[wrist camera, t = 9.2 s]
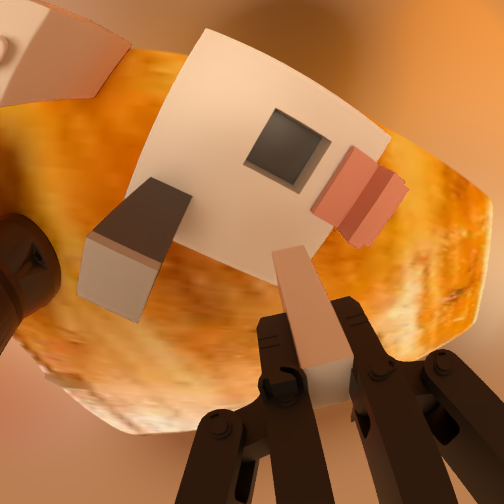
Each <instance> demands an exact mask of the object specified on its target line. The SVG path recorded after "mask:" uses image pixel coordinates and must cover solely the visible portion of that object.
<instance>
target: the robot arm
mask: <svg viewBox="0 0 504 504" xmlns="http://www.w3.org/2000/svg"><path fill="white" fill-rule="evenodd" d="M271 253H272V258H273V263H274V268H275V273H276V278H277V283H278V288H279V293H280V298H281V302H282V306H283V310H284V313H281V314H277V315H272V316H267V317H263V318H260V321H259V323H258V326H257V337H258V345H259V353H260V361H261V369H262V375H261V376H260V378H259V381H258V389H259V391H260V395H259V397H258V398H257V399H256V400H255V401H254V402H252V403H251V404H249V405H247V406H245V407H243V408H241V409H238V410H236V411H234V412H233V411H231V410H227V409H216V410H214V411H211V412H209V413H207V414H206V415H205V416H204V417H203V418H202V419H201V421H200V423H199V425H198V428H197V432H196V435H195V438H194V441H193V445H192V448H191V451H190V454H189V458H188V461H187V464H186V468H185V471H184V474H183V478H182V481H181V484H180V487H179V491H178V494H177V497H176V500H175V504H251V502H252V497H253V492H254V486H255V481H256V476H257V470H258V465H259V459H260V458H262V457H264V456H266V455H269V454H270V458H271V465H272V473H273V481H274V488H275V496H276V503H277V504H335V502H334V497H333V493H332V488H331V483H330V479H329V474H328V470H327V466H326V461H325V457H324V453H323V449H322V444H321V440H320V437H319V432H318V428H317V424H316V419H315V415H314V412H313V409H318V408H322V407H325V406H329V405H333V404H337V403H340V402H344V401H347V400H349V394H350V397H351V400H352V402H353V408H352V413H351V422H353V421H354V420H355V422H356V425H357V428H358V431H359V435H360V438H361V441H362V444H363V448H364V451H365V454H366V457H367V461H368V464H369V468H370V471H371V475H372V478H373V481H374V485H375V489H376V493H377V496H378V500H379V504H458V501H457V498H456V495H455V492H454V489H453V486H452V483H451V481H450V478H449V475H448V472H447V470H446V467H445V465H444V462H443V459H442V457H443V458H444V460H445V461H446V462H447V463H448V465H449V466H450V467H451V469H452V470H453V471H454V473H455V474H456V475H457V477H458V478H459V479H460V480H461V482H462V483H463V485H464V486H465V487H466V488H467V490H468V491H469V492H470V494H471V495H472V496H473V498H474V499H475V501H476V502H477V503H478V504H504V403H503V402H502V401H501V400H500V399H499V397H498V396H497V395H496V394H495V393H494V392H493V391H492V390H491V389H490V388H489V387H488V386H487V385H486V384H485V383H484V382H483V381H482V380H481V379H480V378H479V377H478V376H477V375H476V374H475V373H474V372H473V371H472V370H471V369H470V368H469V367H468V366H467V365H466V364H465V363H464V362H463V361H462V360H461V359H460V358H459V357H458V356H457V355H456V354H454V353H453V352H451V351H449V350H445V349H440V350H435V351H433V352H431V353H430V354H429V355H428V356H427V357H426V359H425V360H424V361H412V362H402V361H398V360H395V358H393V357H391V356H389V355H388V354H387V353H386V352H385V350H384V348H383V347H382V345H381V343H380V341H379V339H378V337H377V335H376V333H375V331H374V330H373V328H372V326H371V324H370V322H369V321H368V318H367V317H366V315H365V314H364V311H363V309H362V308H361V306H360V304H359V303H358V302H357V301H355V300H354V299H353V298H351V297H350V296H348V297H344V298H340V299H336V300H332V301H330V300H329V298H328V296H327V294H326V291H325V289H324V287H323V285H322V283H321V281H320V278H319V276H318V274H317V272H316V270H315V268H314V266H313V264H312V262H311V260H310V257H309V255H308V253H307V251H306V249H305V247H304V245H299V246H295V247H290V248H286V249H281V250H277V251H272V252H271ZM60 280H61V275H60V268H59V263H58V260H57V257H56V254H55V252H54V250H53V248H52V246H51V244H50V242H49V241H48V239H47V238H46V236H45V235H44V234H43V232H42V231H41V230H40V229H39V228H38V227H37V226H36V225H35V224H34V223H33V222H32V221H30V220H29V219H28V218H26V217H24V216H22V215H19V214H7V215H5V216H3V217H2V218H0V355H1V353H2V352H3V350H4V348H5V346H6V345H7V343H8V341H9V340H10V338H11V337H12V335H13V334H14V332H15V330H16V329H17V327H18V326H19V324H20V323H21V322H22V320H23V319H24V318H26V317H27V316H29V315H31V314H32V313H34V312H35V311H37V310H39V309H40V308H42V307H44V306H45V305H47V304H48V303H49V302H50V301H51V300H52V298H53V297H54V296H55V294H56V293H57V291H58V289H59V286H60ZM441 456H442V457H441Z"/></svg>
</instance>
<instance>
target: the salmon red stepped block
mask: <svg viewBox="0 0 504 504" xmlns="http://www.w3.org/2000/svg"><path fill="white" fill-rule="evenodd" d="M404 184H405V181H404V180H403V179H402V178H401V177H399V176H398V175H397V174H396V173H395V172H393V171H391V170H389V169H387V168H385V167H383V166H381V165H379V164H378V163H377V162H375V161H374V160H373V159H371V158H370V157H369V156H367V155H366V154H365V153H363V152H362V151H361V150H359V149H358V148H356V147H354V146H351V147H350V149H349V151H348V152H347V154H346V155H345V157H344V159H343V160H342V162H341V163H340V165H339V167H338V168H337V170H336V171H335V173H334V174H333V176H332V178H331V179H330V181H329V182H328V184H327V185H326V187H325V189H324V190H323V192H322V193H321V195H320V196H319V198H318V199H317V201H316V203H315V204H314V206H313V207H312V209H311V210H310V211H311V212H312V214H313V215H315V216H317V217H318V218H320V219H322V220H324V221H325V222H327V223H329V224H331V225H332V226H334V227H336V228H337V229H338V230H339V231H340V233H341V234H342V235H343V237H344V238H345V240H346V241H347V242H348V243H349V244H351V245H353V246H354V247H356V248H358V249H360V248H361V247H362V245H363V244H364V245H366V246H368V247H370V246H371V244H372V243H373V242H374V240H375V239H376V237H377V236H378V235H379V233H380V232H381V230H382V229H383V228H384V226H385V225H386V223H387V222H388V220H389V219H390V217H391V216H392V215H393V213H394V212H395V210H396V209H397V207H398V206H399V204H400V203H401V201H402V200H403V198H404V197H405V195H406V193H407V192H408V190H409V189H408V188H407V187H406V186H405V185H404Z"/></svg>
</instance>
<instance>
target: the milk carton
mask: <svg viewBox="0 0 504 504" xmlns="http://www.w3.org/2000/svg"><path fill="white" fill-rule="evenodd" d="M131 45H132V44H131V43H129V42H128V41H126V40H124V39H123V38H121V37H119V36H118V35H116V34H114V33H112V32H111V31H109V30H107V29H105V28H104V27H102V26H100V25H98V24H96V23H94V22H92V21H91V20H88V19H86V18H84V17H81V16H79V15H77V14H74V13H72V12H69V11H67V10H64V9H62V8H59V7H57V6H54V5H51V4H48V3H46V2H43V1H40V0H0V107H5V106H11V105H18V104H25V103H32V102H41V101H51V100H64V99H83V98H94V97H95V96H96V94H97V93H98V91H99V90H100V88H101V87H102V85H103V84H104V82H105V81H106V79H107V78H108V76H109V75H110V74H111V72H112V71H113V69H114V68H115V67H116V65H117V64H118V63H119V61H120V60H121V59H122V57H123V56H124V55H125V53H126V52H127V51H128V50H129V48H130V47H131Z"/></svg>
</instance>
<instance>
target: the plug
mask: <svg viewBox="0 0 504 504" xmlns="http://www.w3.org/2000/svg"><path fill="white" fill-rule="evenodd" d="M192 197H193V196H192V195H189V194H187V193H185V192H183V191H181V190H179V189H176V188H174V187H172V186H170V185H168V184H165V183H163V182H161V181H159V180H157V179H154V178H152V177H150V178H148V179H147V180H146V181H145V182H144V183H143V184H141V185H140V186H139V187H138V188H137V189H136V190H135V191H134V192H132V193H131V194H130V195H129V196H128V197H127V198H126V199H125V200H124V201H122V202H121V203H120V204H119V205H118V206H117V207H116V208H115V209H114V210H113V211H112V212H111V213H110V214H109V215H108V216H107V217H106V218H105V219H104V220H103V221H101V222H100V223H99V224H98V225H97V226H96V227H95V228H94V229H93V231H92V232H91V233H90V234H89V235H88V236H87V237H86V240H85V245H84V250H83V255H82V261H81V267H80V273H79V279H78V287H77V294H76V295H78V296H80V297H82V298H84V299H86V300H88V301H90V302H92V303H94V304H96V305H98V306H100V307H102V308H104V309H106V310H109V311H111V312H113V313H115V314H117V315H119V316H122V317H124V318H126V319H128V320H131V321H133V322H135V323H139V320H140V317H141V315H142V312H143V310H144V307H145V305H146V302H147V299H148V297H149V294H150V292H151V290H152V287H153V285H154V282H155V280H156V277H157V275H158V273H159V270H160V268H161V266H162V263H163V261H164V259H165V256H166V254H167V252H168V250H169V247H170V245H171V243H172V241H173V238H174V236H175V234H176V232H177V229H178V227H179V225H180V223H181V221H182V218H183V216H184V214H185V212H186V210H187V207H188V205H189V203H190V201H191V199H192Z"/></svg>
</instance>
